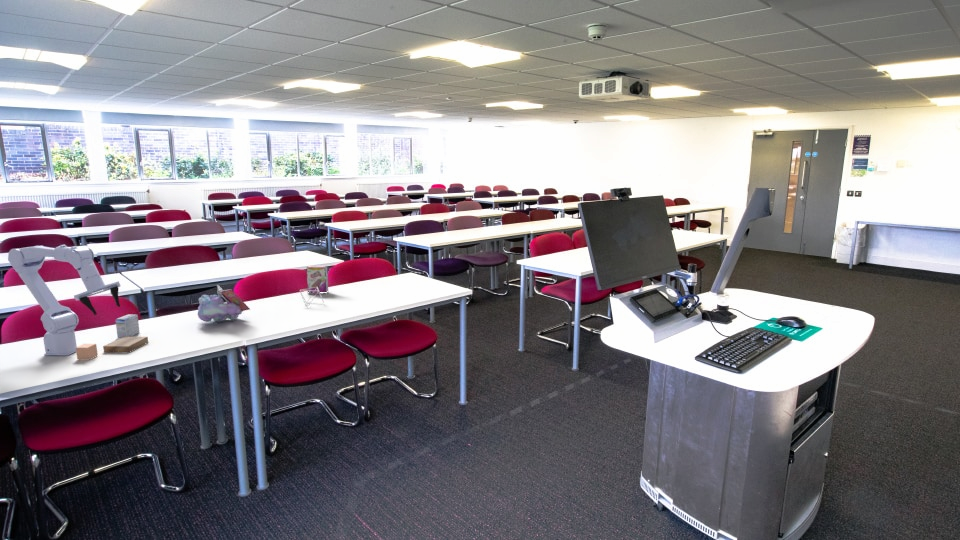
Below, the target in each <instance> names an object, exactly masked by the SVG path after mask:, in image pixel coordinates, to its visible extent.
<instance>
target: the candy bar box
mask: <svg viewBox="0 0 960 540" xmlns="http://www.w3.org/2000/svg"><path fill="white" fill-rule="evenodd" d="M328 275H329V274H328V266H327V265H308V266H306V283H307V284H306V285H307V286H306V287H307V288H310V289H307V290H311V291H307V293H308V292H309V293H313V292H314V293H317V292H318V291H320V292H327V291H328V292H329V278H328V277H329V276H328ZM313 287H315V288H313ZM317 287H318V289H319V290H318V289H317ZM315 289H316V290H315ZM318 293H319V292H318Z"/></svg>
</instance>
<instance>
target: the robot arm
mask: <svg viewBox="0 0 960 540" xmlns="http://www.w3.org/2000/svg"><path fill="white" fill-rule="evenodd" d="M46 257H48V258H54V260H55V261H58V262H64V263H65V262H66V263H69V264H70V265H71V266H73V268H74V269H75V270H76V271H77V273H78V275H79V276H80V278H81V281H82V283H83V285H84V287H85V289H86V291H83V292H80V293H78V294H74V295H73V298H74V300H75V301H76V302H77V301H79V302H80V303H81V304H83V305H84V306H85V307H87V309H89V310H90V311H91V313H92V314H93V315H94V316H96V315H98V313H97V311H96V309H95V307H94V306H93V305H92V302H91V300H90V298H89V297H92V296H96V295H98V294H101V293H104V292H107V291H110V292H109V293H110V294H111V296H112V298H113V300H114V302H115V305H116V307H117V308H120V307H121V304H120V300H119V288H120V287H121V283H120V281H116V282H115V281H114V282H111V283H107V284H105V282H104V280H103V278H102V277H101V274H100V272H99V270H98V268H97V266H96V264H95V262H94V258H95V253H94V251H93V250H92V249H91V248H90V247H87V246H83V247H77V246H67V245H66V244H60V245H59V246H56V247H49V246H44V245H34V246H27V247H21V248H20V247H19V248H11V249H10V250H9V251H8V256H7V260H8V262H9V264H10V265H11V267H12V268H13V270H15V271H14V272H15V273H17V274H18V276H19V278H20V279H21V280H22V281H23V283H24V285H26V287H27V289H28V290H29V292H30V293H31V294H32V296H33V298H34V299H35V301H36V302H37V303H38V305H39V306H40V308H42V310H43V314H42V315H41V316H40V321H41V322H42V325H43V328H44V330H45V331H46V333H45V334H44V335H43V345H44V351H45V352H44V354H43V355H44V356H69V355H72V354H74V353H76V347H78V346H77V339H76V333H75V329H77V326H78V324H79V321H80V320H79V316H78V315H77V314H76V312H74V311H73V310H71V308H70V307H68V306H65V305H62V304H61V303H59V301H58V299H57V298H56V297H55V295H54V293H53V292H52V291H51V289H50V287H48V285H47V284H46V283H45V281H44V279H43V278H42V276H41V275H40V273H39V270H40V269H41V268H42V266H43V264H44V261H45V259H46Z"/></svg>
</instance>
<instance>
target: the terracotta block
mask: <svg viewBox="0 0 960 540" xmlns="http://www.w3.org/2000/svg"><path fill="white" fill-rule="evenodd" d="M75 353H76V354H75V355H76V359H90V360H92V359H94V358H96V357H98V356H99V354H98V349H97V343H83V344H81V345H78V346H77V347H76V352H75ZM97 355H98V356H97ZM95 356H96V357H95ZM93 357H94V358H93ZM91 358H92V359H91Z"/></svg>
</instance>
